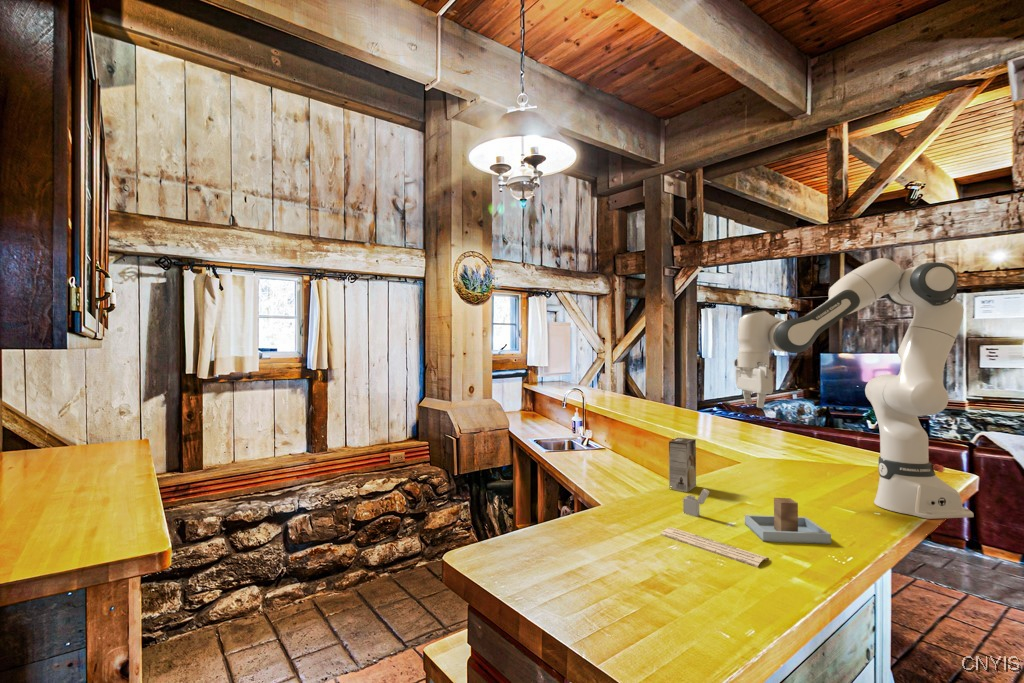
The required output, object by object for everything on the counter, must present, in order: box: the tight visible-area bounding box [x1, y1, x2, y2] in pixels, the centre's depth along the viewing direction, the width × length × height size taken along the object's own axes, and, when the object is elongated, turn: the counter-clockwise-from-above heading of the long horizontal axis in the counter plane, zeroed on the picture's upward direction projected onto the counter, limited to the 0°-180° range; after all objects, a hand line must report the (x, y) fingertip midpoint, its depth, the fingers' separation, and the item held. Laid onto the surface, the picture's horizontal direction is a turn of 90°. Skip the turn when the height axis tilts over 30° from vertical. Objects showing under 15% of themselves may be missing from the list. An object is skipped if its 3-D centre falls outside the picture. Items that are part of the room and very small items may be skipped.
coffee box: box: [668, 437, 697, 493], centre depth 161 cm, size 9×6×16 cm
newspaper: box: [660, 526, 770, 569], centre depth 114 cm, size 24×7×2 cm, turn 41°
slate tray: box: [744, 514, 832, 545], centre depth 122 cm, size 16×12×2 cm
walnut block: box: [773, 497, 799, 532], centre depth 122 cm, size 4×4×8 cm
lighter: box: [682, 488, 710, 518], centre depth 134 cm, size 7×2×8 cm, turn 41°
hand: (754, 405), depth 151 cm, fingers open, 8 cm apart
